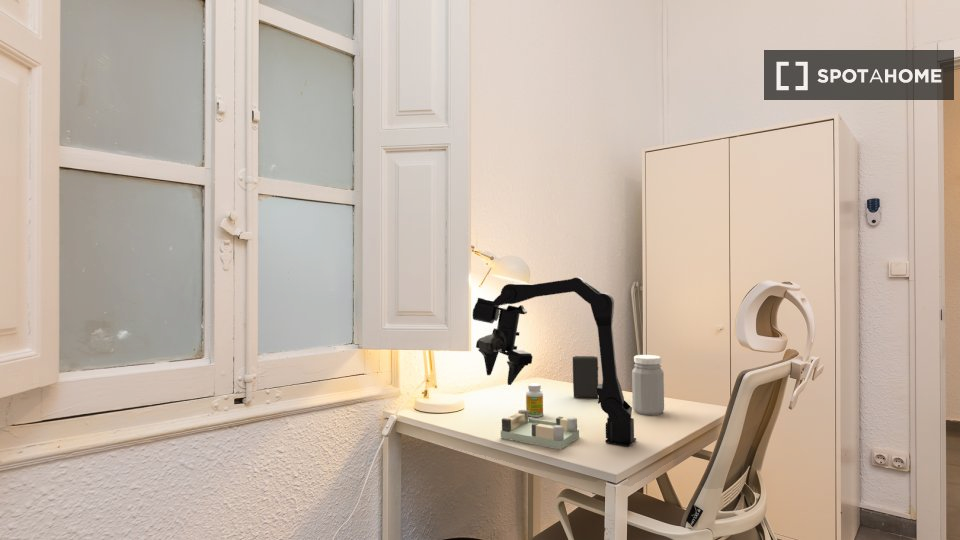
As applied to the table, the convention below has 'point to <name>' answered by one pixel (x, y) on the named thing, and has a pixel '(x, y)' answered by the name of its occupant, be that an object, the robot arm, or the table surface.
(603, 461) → the table surface
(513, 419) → the hinged leg
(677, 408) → the table surface
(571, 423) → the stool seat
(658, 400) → the jar
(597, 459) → the table surface
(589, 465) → the table surface
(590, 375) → the card reader
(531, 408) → the supplement bottle
